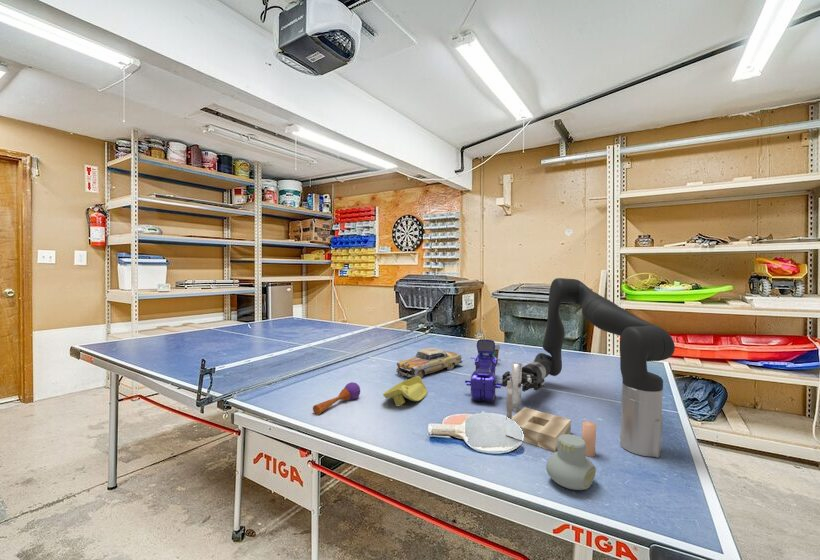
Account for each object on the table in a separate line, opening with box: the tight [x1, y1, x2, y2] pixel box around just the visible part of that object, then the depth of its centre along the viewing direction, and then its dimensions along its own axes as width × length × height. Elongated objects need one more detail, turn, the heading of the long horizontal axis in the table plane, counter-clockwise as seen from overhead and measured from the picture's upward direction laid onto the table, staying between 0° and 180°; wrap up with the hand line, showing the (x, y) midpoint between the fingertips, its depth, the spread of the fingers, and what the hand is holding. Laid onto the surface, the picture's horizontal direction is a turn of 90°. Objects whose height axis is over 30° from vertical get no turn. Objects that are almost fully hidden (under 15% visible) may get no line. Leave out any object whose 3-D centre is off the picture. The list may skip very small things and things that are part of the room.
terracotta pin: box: [581, 420, 597, 458], centre depth 96 cm, size 3×3×8 cm
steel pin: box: [511, 362, 523, 413], centre depth 123 cm, size 3×3×16 cm
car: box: [396, 347, 463, 380], centre depth 167 cm, size 12×34×10 cm, turn 132°
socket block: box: [506, 380, 572, 453], centre depth 106 cm, size 14×14×16 cm
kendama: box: [312, 381, 361, 416], centre depth 128 cm, size 6×6×20 cm
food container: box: [476, 344, 501, 366], centre depth 178 cm, size 12×6×10 cm, turn 47°
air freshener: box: [545, 433, 597, 491], centre depth 84 cm, size 11×8×10 cm
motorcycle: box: [464, 339, 503, 403], centre depth 144 cm, size 35×14×18 cm, turn 166°
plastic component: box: [382, 376, 428, 407], centre depth 133 cm, size 20×7×10 cm
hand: (513, 386), depth 121 cm, fingers open, 6 cm apart
